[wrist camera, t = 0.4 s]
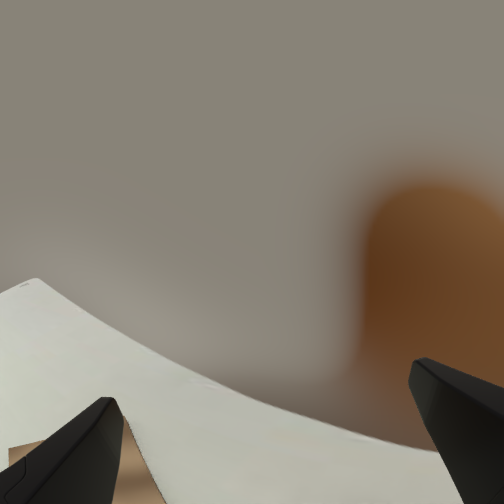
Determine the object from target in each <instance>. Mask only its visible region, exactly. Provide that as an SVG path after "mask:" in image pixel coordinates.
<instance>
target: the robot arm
mask: <svg viewBox="0 0 504 504" xmlns="http://www.w3.org/2000/svg"><path fill="white" fill-rule="evenodd" d="M408 383H409V388H410V391H411V393H412V395H413V398H414V400H415V403H416V405H417V408H418V410H419V413H420V415H421V418H422V420H423V423H424V425H425V427H426V429H427V431H428V433H429V434H430V436H431V438H432V440H433V442H434V444H435V446H436V448H437V450H438V452H439V454H440V456H441V458H442V459H443V461H444V463H445V465H446V467H447V469H448V471H449V473H450V475H451V478H452V480H453V482H454V484H455V486H456V488H457V490H458V492H459V494H460V496H461V498H462V501H463V503H464V504H504V388H502V387H500V386H497V385H495V384H492V383H490V382H487V381H484V380H482V379H479V378H476V377H474V376H472V375H469V374H466V373H464V372H461V371H459V370H456V369H454V368H451V367H449V366H446V365H444V364H441V363H439V362H436V361H434V360H431V359H429V358H426V357H423V358H419V359H416V360H414V361H413V363H412V367H411V371H410V375H409V380H408ZM123 428H124V418H123V415H122V413H121V411H120V409H119V406H118V404H117V402H116V400H115V399H114V398H112V397H101V398H99V399H98V400H97V401H95V402H94V403H93V404H91V405H90V406H89V407H88V408H86V409H85V410H84V411H82V412H81V413H80V414H79V415H77V416H76V417H75V418H73V419H72V420H71V421H69V422H68V423H67V424H66V425H64V426H63V427H62V428H60V429H59V430H58V431H56V432H55V433H54V434H53V435H51V436H50V437H49V438H47V439H46V440H45V441H43V442H42V443H41V444H39V445H38V446H37V447H35V448H34V449H33V450H31V451H30V452H29V453H27V454H26V456H23V457H22V458H21V459H19V460H18V461H17V462H15V463H14V464H12V465H11V466H10V467H8V468H7V469H5V470H4V471H2V472H0V504H112V501H113V496H114V491H115V485H116V480H117V476H118V471H119V465H120V458H121V447H122V437H123Z"/></svg>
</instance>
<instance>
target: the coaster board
mask: <svg viewBox="0 0 504 504" xmlns="http://www.w3.org/2000/svg"><path fill="white" fill-rule="evenodd" d="M123 418H124V428H123V437H122V447H121V458H120V465H119V471H118V476H117V480H116V485H115V491H114V496H113V501H112V504H166V502H165V500H164V499H163V497H162V495H161V493H160V491H159V489H158V487H157V485H156V483H155V481H154V480H153V478H152V476H151V473H150V471H149V469H148V467H147V465H146V463H145V461H144V459H143V457H142V455H141V452H140V450H139V448H138V446H137V443H136V441H135V439H134V436H133V434H132V432H131V429H130V427H129V424H128V422H127V420H126V418H125V416H123ZM43 441H45V440H42V441H38V442H34V443H30V444H26V445H22V446H17V447H13V448H9V467H10V466H11V465H12V464H14V463H15V462H17V461H18V460H19V459H21V458H22V457H23V456H26V454H27V453H29V452H30V451H31V450H33V449H34V448H35V447H37V446H38V445H39V444H41V443H42V442H43Z"/></svg>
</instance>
